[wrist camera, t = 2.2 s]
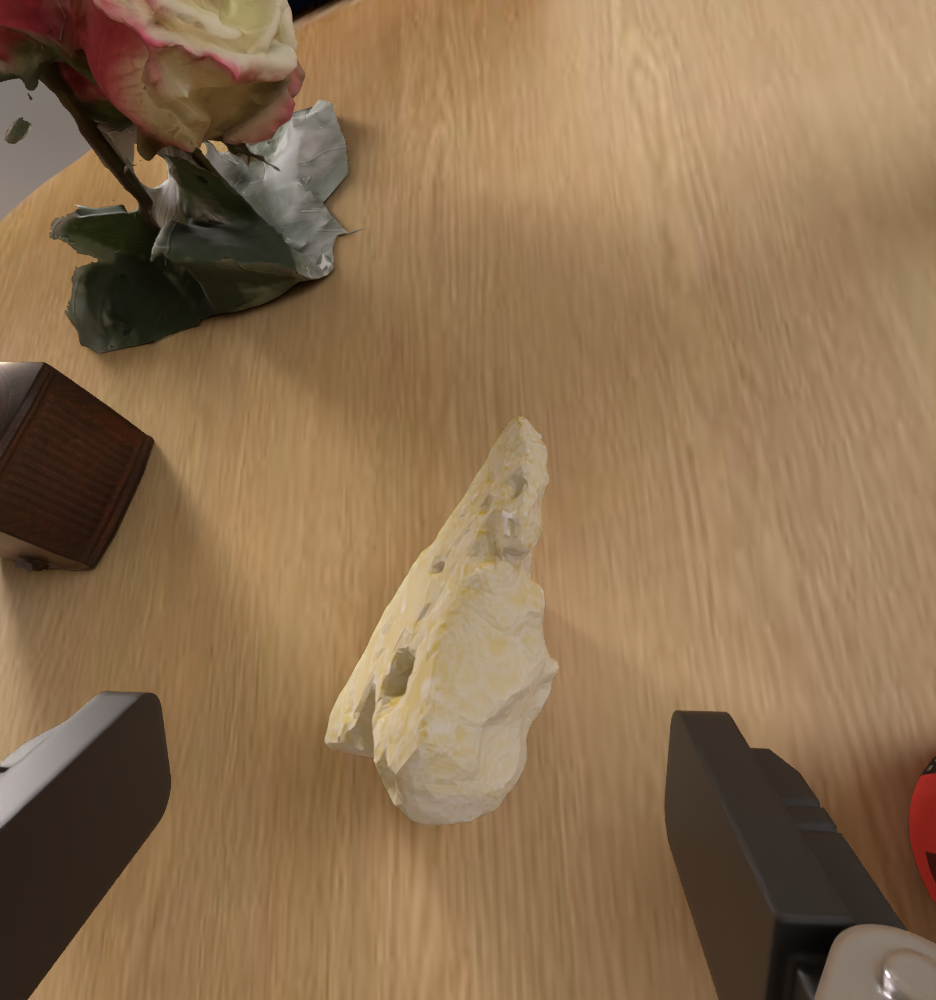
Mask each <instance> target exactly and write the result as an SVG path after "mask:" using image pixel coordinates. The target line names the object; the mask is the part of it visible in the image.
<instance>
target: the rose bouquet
mask: <svg viewBox="0 0 936 1000" xmlns="http://www.w3.org/2000/svg"><path fill="white" fill-rule="evenodd" d="M297 48H298V44H297V42H296V39H295V33H294V27H293V24H292V13H291V9H290V7H289V5H288V2H287V0H0V82H3V81H6V80H11V79H17V78H20V79H21V80H22V81H23V83H25V86H26V88H27V89H28V90H31V91H33V90H35V88H36V87H37V85H38V79H39V80H40V81H42V82H43V83H44V84H45V85H46V86H47V87H48V88H49V89H50V90H51V91H52V92H54V93H55V94H56V96H57V97H58V98H59V100H60V102H61V103H62V105H63V106H64V107H65V108H66V109H67V110H68V111H69V112H70V113H71V115H72V116H73V118H74V119H75V121H76V123H77V125H78V128H79V131H80V133H81V134H82V135H83V137H84V138H85V139H86V140H87V142H88V143H89V145H90V146H91V147H92V149H93V150H94V151H95V153H96V154H97V156H98V157H99V159H100V160H101V162H102V164H103V165H104V166H105V167H106V168H108V169H109V170H110V171H111V172H112V173H113V175H114V176H115V177H116V178H117V179H118V181H119V182H120V184H122V185H123V187H124V188H125V189H126V190H127V191H128V192H130V193H131V194H132V195H133V196H134V197H135V198H136V200H137V201H138V203H139V205H138V209H137V210H136V211H134V210H135V209H134V210H133V211H131V212H127V211H126V209H125V206H124V205H117V206H110V207H103V208H90V207H85V206H80V205H76V206H79V208H80V209H77V211H75V212H73V213H70V214H67V217H63V216H62V218H55V219H54V220H53V222H52V224H51V227H52V228H51V230H52V232H50V236H49V237H50V238H52V239H53V240H55V239H60V240H62V241H63V242H67V243H68V244H69V245H70V246H71V247H72V248H73V249H74V250H76V251H77V253H79V254H84V255H90V256H92V257H94V258H97V259H98V262H96V263H93V262H91V264H88V265H84V266H81V267H79V268H77V267H76V266H75V267H76V270H75V271H74V276H73V277H72V283H73V288H72V297H71V300H70V301H69V302H68V304H69V306H67V307H68V311H67V310H65V313H66V315H67V317H68V318H69V320H70V321H71V323H72V324H73V325H74V327H75V328H76V329H77V331H78V334H79V340H80V344H81V345H82V346H85V347H88V348H91V349H92V350H94V351H96V352H97V353H101V352H106V351H111V350H116V349H121V348H126V347H131V346H136V345H141V344H145V343H148V342H149V343H151V342H153V341H155V340H157V339H160V338H163V337H165V336H168V335H170V334H173V333H176V332H178V331H181V330H184V329H187V328H189V327H194V326H199V325H197V324H198V323H199V321H200V319H201V318H207V317H209V316H211V315H215V314H218V313H230V312H236V311H240V310H244V309H247V308H251V307H255V306H258V305H261V304H264V303H266V302H268V301H271V300H273V299H275V298H277V297H279V296H280V295H282V294H284V293H285V292H287V291H288V290H289V289H290V288H291V287H292V286H294V285H295V284H296V283H298V282H300V281H306V280H315V279H319V278H321V277H323V276H327V275H328V274H329V273H330V272H331V271H332V270H333V269H334V267H333V265H332V263H333V262H334V257H333V255H332V252H333V243H334V242H335V240H336V238H337V236H338V235H342V234H348V233H347V232H346V231H345V229H344V228H343V227H342V226H341V225H340V224H339V223H338V222H337V221H336V220H335V219H334V218H333V216H332V215H331V213H330V212H329V211H328V209H327V208H326V207H325V205H324V204H323V202H324V201H325V200H326V199H327V198H328V197H329V195H330V194H331V193H332V192H333V191H334V190H335V188H336V187H337V186H338V185H339V184H340V183H341V181H342V180H343V179H344V178H345V177H346V176H347V175H348V160H347V159H346V158H347V152H348V151H346V150H347V148H346V147H345V146H346V143H344V142H345V138H343V136H344V135H343V134H342V133H341V132H340V131H339V130H341V128H340V125H339V123H337V120H336V118H337V117H336V114H335V112H334V109H333V104H331V103H328V102H326V101H323V100H322V101H323V102H322V101H321V100H319V101H318V102H317V103H316V104H315V105H314V106H313V107H311V108H307V109H303V110H300V111H296V112H293V109H294V106H295V102H294V100H293V98H294V97H295V96H296V95H297V94H298V93H299V91H300V89H301V87H302V84H303V81H304V78H305V72H304V71H303V69H302V67H301V65H300V64H299V61H298V59H297V56H296V51H297ZM28 96H29V98H30V100H32V97H31V96H30V95H29V94H28ZM30 130H31V124H30V123H29V122H27V121H24V120H23V117H22V118H19V119H18V120H17V121H15V122H13V123H12V125H11V126H10V128H9V129H8V131H7V132H6V134H5V140H6V141H7V142H8V143H11V144H15V143H17V142H18V141H19V140H21V139H23V138H24V137H25V136H26V135H27V134H28V133H29V132H30ZM208 140H213V141H221V142H223V143H224V144H225V145H226V146H227V148H228V150H229V151H227V152H225V153H221V152H218V151H217V150H216V148H215V147H214V145H213V144H212V143H210V142H209V141H208ZM203 142H204V144H205V145H206V147H207V154H206V157H205V156H204V155H203V154H202V151H201V150H200V149H199V148H200V147H201V144H202V143H203ZM134 143H135V144H137V151H138V153H139V154H140V155H141V156H142V157H143V158H144V159H145V160H147V161H150V160H151V159H152V158H153V157H154V156H155V155H156V154H157V155H159V156H161V157H162V158H164V159H165V161H166V163H167V167H168V179H167V180H166V181H165V182H164V183H162V184H161V185H160V186H158V187H156V188H148V187H146V186H145V185H143V184H142V183H141V182H140V181H139V180H138V178H137V177H136V175H135V173H134V170H133V166H135V165H133V161H134ZM197 147H198V148H197ZM140 161H141V160H140ZM113 201H115V200H113ZM364 229H365V228H364ZM360 230H362V229H360ZM360 230H356V231H353V232H349V233H354V232H358V231H360Z"/></svg>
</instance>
